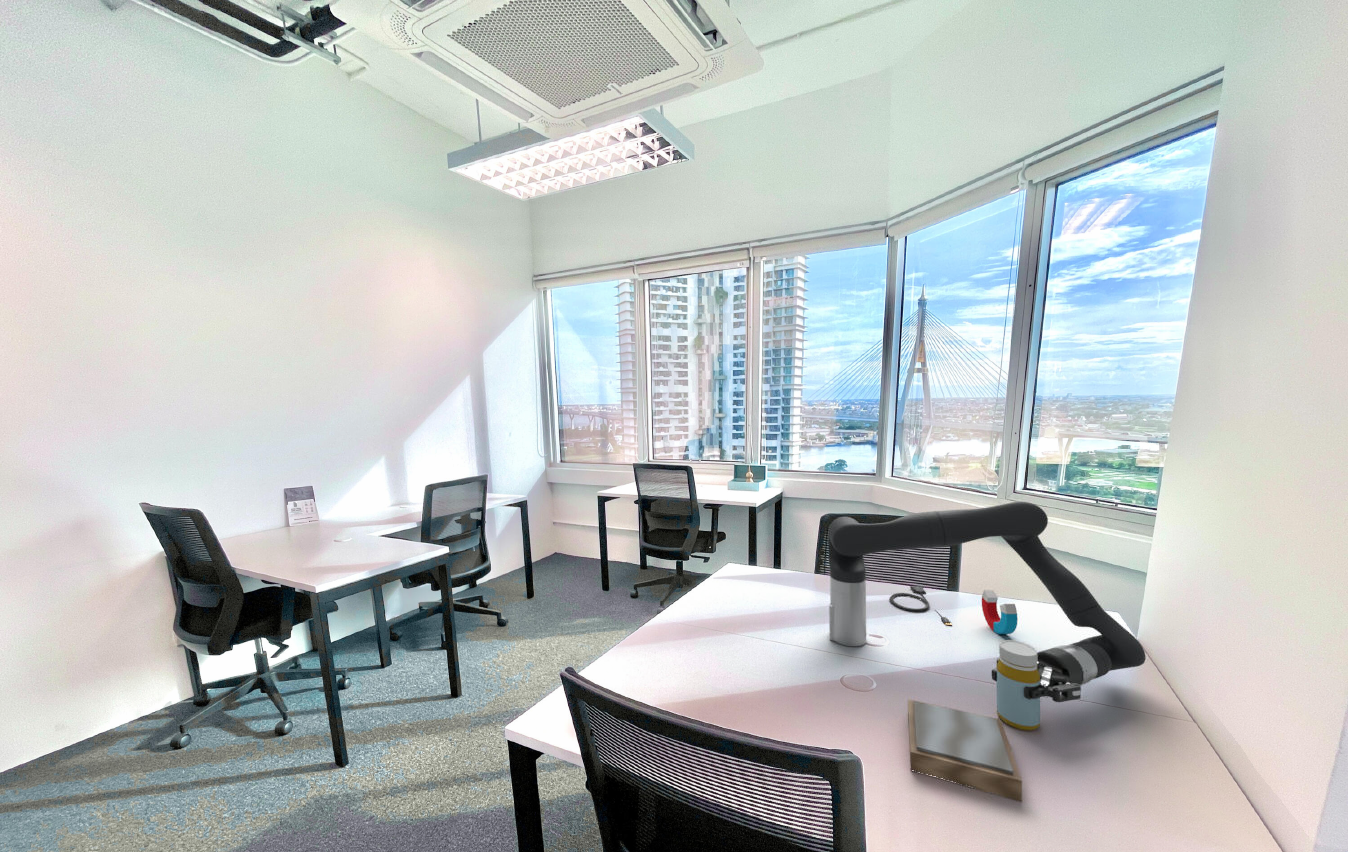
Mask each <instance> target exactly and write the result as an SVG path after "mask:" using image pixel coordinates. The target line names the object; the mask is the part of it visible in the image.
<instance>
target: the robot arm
mask: <svg viewBox="0 0 1348 852" xmlns="http://www.w3.org/2000/svg"><path fill="white" fill-rule="evenodd" d="M1048 522H1049V518H1048V515H1047V513H1046V512H1045V510H1044V509H1042V508H1041V506H1038V505H1037V504H1035V503H1032V502H1030V501H1029V502H1028V501H1019V500H1018V501H1013V502H1012V501H1011V502H1008V503H1007V502H1006V503H1003V504H997V505H992V506H987V507H980V508H969V509H968V508H966V509H965V508H964V509H962V508H960V509H947V510H936V511H935V510H933V511H923V512H915V513H912V514H907V515H905V516H901V517H898V518H896V519H894V520H891V521H887V522H880V523H859V521H857V520H856V519H854V518H852V517H849V516H839V517H837V518H835V519H834V520H832V522H831V523H830V524H829V527H828V530H827V531H828V533H827V540H828V541H827V545H828V551H827V552H828V565H829V586H830V587H829V591H830V593H829V595H830V596H829V597H830V599H829V600H830V603H829V607H828V613H829V619H828V620H829V621H828V623H829V626H828V627H829V641H833V642H835V643H837V644H839V645H842V646H847V647H860V646H864V645H865V644H866V643H867V575H866V574H867V571H866V566H865V561H864V559H865V558H864V556H865V555H871V554H876V553H880V552H881V553H882V552H887V551H900V550H901V551H902V550H904V551H905V550H916V549H933V548H936V549H937V548H945V547H950V546H951V547H952V546H956V545H960V544H965V543H970V542H972V541H973V542H974V541H977V540H980V539H984V538H985V539H986V538H991V537H994V538H995V537H1001V538H1002V539H1003V540H1004V541H1005V543H1006V544H1008V545H1009V547H1010V548H1011V549H1012V550H1013V551H1015V553H1017V555H1018V556H1019V557H1020V558H1021V559H1022V560H1023V561H1024V563H1025V564H1026V565H1027V566H1028V567H1029V568H1030V570H1031V571H1032V572H1033V573H1034V574H1035V575H1036V576H1037V578H1038V579H1039V581H1040V582H1041V583H1042V584H1043V585H1044V586H1045V588H1046V590H1047V591H1048V592H1049V594H1050V595H1051V596H1052V598H1053V599H1054V601H1055V602H1056V603H1057V604H1058V606H1059V607H1060V609H1061V610H1062V612H1063V613H1064V615H1065V616H1066V617H1067V619H1068V620H1069V621H1070V623H1072V625H1074V626H1075V627H1079V628H1090V629H1094V630H1095V631H1096V632H1098V633H1099V635H1095V636H1091V637H1086V638H1084V639H1081V640H1079V641H1076V642H1073V643H1069V644H1067V645H1066V644H1063V645H1058V646H1055V647H1051V648H1048V649H1045V650H1042V651H1037V654H1038V658H1037V669H1038V672H1039V675H1040V684H1039V685H1038V686H1035V687H1025V688H1024V697H1025V698H1027V699H1029V700H1030V699H1037V698H1040V699H1041V698H1046V699H1048V698H1052V701H1053V702H1056V703H1063V702H1069V701H1074V700H1076V701H1077V700H1081V697H1082V696H1081V693H1082V688H1081V686H1082V685H1085V684H1087V683H1089V682H1091V681H1092V680H1094V679H1095V680H1096V679H1098V678H1101V677H1103V676H1105V675H1107V674H1109V672H1111V671H1117V670H1123V669H1129V668H1135V667H1136V668H1137V667H1140V666H1142V665H1143V664H1145V661H1146V660H1147V659H1146V652H1145V649H1144V648H1143V646H1142V643H1140V641H1139V640H1138V639H1137V638H1136V637H1135V636H1134V635H1133V634H1132V633H1131V632H1129V630H1127V629H1126V628H1125V627H1123V625H1121V624H1120V623H1119V622H1118V621H1117V620H1116V619H1114V618H1113V617H1112V616H1111V615H1110V614H1108V612H1106V611H1105V609H1104V608H1102V606H1101V605H1100V604H1099V602H1098V601H1097V600H1096V598H1095V596H1094V595H1093V594H1092V593H1091V591H1090V590H1089V589H1088V588H1087V586H1086V585H1085V583H1083V582H1082V581H1081V580H1080V579H1079V577H1077V576H1076V575H1075V574H1074V573H1073V572H1072V571H1070V570H1069V569H1068V568H1067V567H1065V566H1064V565H1063V564H1062V563H1061V562H1060V561H1059V560H1057V559H1056V558H1055V557H1054V556H1053V555H1052V554H1051V553H1050V551H1049V550H1048V549H1047V548H1046V547H1045V545H1044V543H1043V542H1042V541H1041V539H1040V537H1039V536H1040V535H1041V534H1043V532H1044V531H1045V529H1047V526H1048V524H1049V523H1048ZM998 661H999V657H997V658H996V664H997V663H998ZM991 680H992V681H994V682H996V683H997V667H994V668H992V669H991Z"/></svg>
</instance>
